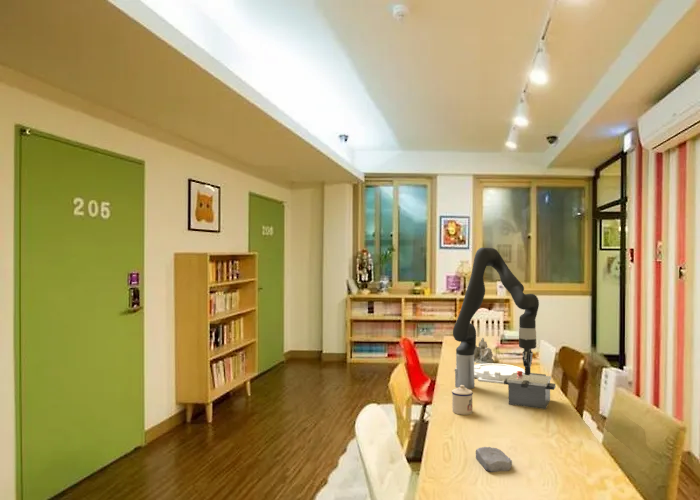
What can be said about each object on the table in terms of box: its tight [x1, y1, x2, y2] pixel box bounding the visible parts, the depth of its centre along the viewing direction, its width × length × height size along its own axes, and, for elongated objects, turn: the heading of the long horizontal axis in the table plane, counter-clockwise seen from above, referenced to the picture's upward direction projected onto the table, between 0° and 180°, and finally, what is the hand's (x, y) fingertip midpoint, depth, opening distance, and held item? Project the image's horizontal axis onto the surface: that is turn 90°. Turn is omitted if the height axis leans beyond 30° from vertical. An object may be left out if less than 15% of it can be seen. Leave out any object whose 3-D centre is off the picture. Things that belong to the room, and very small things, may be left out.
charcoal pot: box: [504, 378, 556, 410], centre depth 231 cm, size 22×16×10 cm
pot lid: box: [507, 371, 552, 388], centre depth 228 cm, size 17×25×3 cm
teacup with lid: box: [451, 385, 474, 416], centre depth 219 cm, size 12×9×12 cm
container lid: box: [474, 362, 525, 385], centre depth 283 cm, size 30×35×6 cm
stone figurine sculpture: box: [474, 337, 494, 364], centre depth 320 cm, size 16×16×15 cm
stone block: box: [475, 446, 513, 473], centre depth 163 cm, size 12×5×10 cm
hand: (527, 374), depth 227 cm, fingers closed
